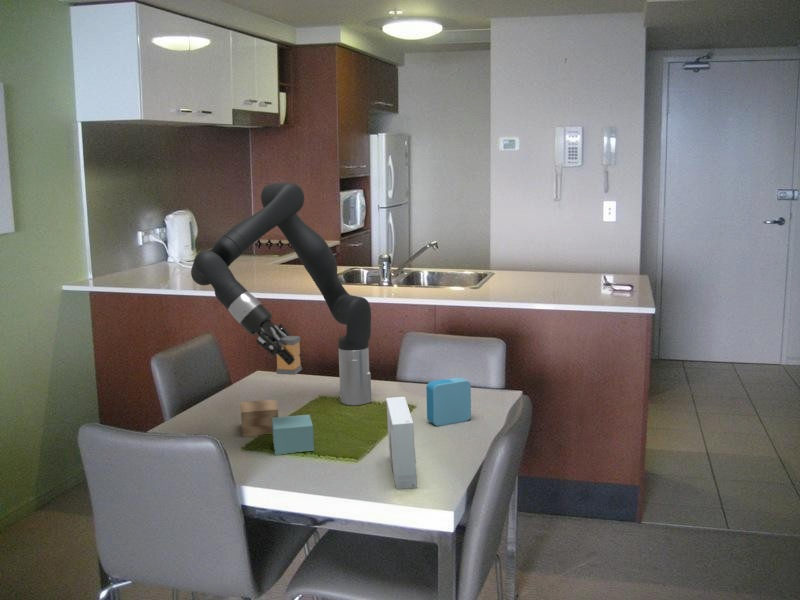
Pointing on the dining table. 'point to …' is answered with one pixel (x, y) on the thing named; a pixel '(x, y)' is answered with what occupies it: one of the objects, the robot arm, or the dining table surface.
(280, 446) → the stand
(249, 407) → the stand
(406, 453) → the skincare box
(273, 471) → the dining table surface
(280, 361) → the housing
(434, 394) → the blue rounded flat block
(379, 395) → the dining table surface
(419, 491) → the dining table surface
